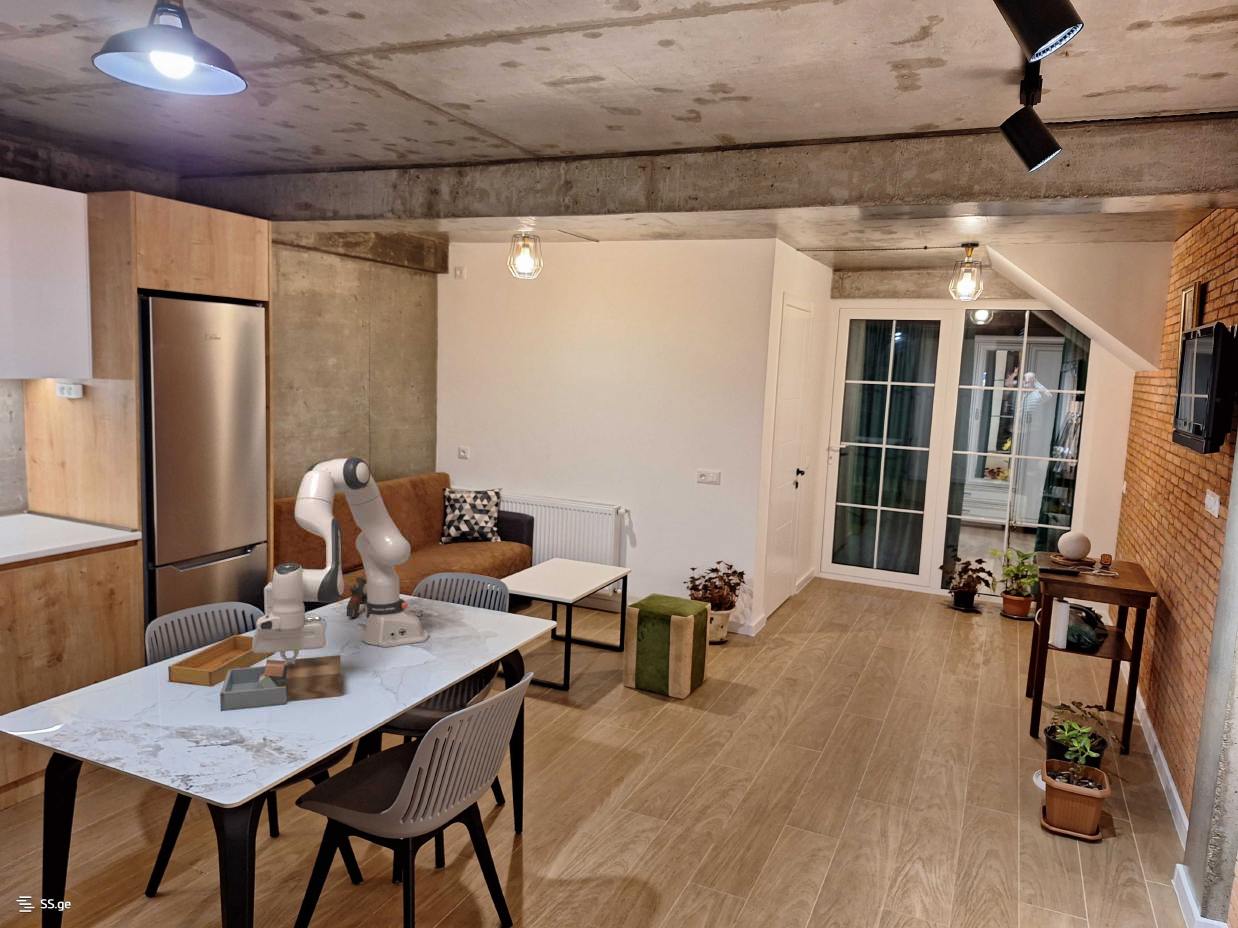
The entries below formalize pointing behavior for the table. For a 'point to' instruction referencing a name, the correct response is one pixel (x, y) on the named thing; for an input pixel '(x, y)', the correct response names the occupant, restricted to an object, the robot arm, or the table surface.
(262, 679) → the sage tile
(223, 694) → the bin
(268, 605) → the white tall block
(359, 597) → the gun
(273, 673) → the terracotta tile
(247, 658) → the tray
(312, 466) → the robot arm
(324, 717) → the table surface
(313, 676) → the walnut ledge
